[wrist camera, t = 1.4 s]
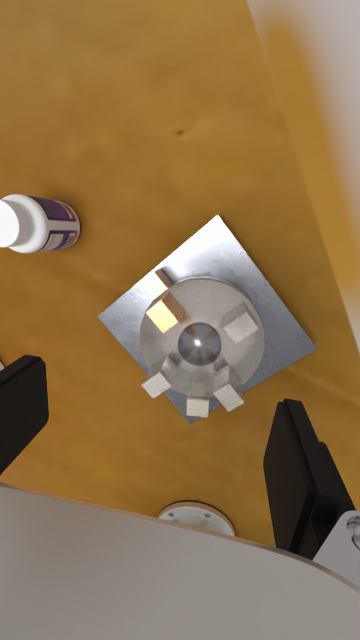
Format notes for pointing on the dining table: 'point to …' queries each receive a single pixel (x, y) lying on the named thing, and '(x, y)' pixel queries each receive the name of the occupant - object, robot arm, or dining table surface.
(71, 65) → the dining table surface
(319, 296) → the dining table surface
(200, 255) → the base plate
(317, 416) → the dining table surface
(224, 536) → the robot arm
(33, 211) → the pill bottle
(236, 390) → the round disc with cubes
